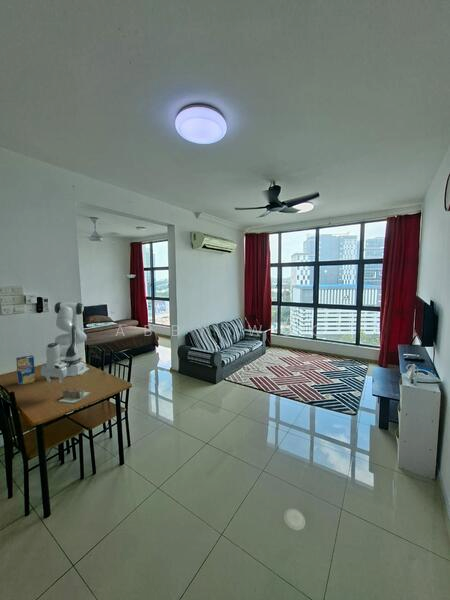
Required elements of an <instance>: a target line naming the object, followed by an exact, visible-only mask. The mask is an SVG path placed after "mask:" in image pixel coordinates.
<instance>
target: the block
mask: <svg viewBox="0 0 450 600" xmlns="http://www.w3.org/2000/svg"><path fill="white" fill-rule="evenodd" d="M84 392H85V389H84V388H83V389H82V388H73V387H66V388H65V389H63V390H62V398H64V397H68V398H77V399H80V398H82V397H83V396H84Z"/></svg>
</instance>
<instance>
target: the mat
mask: <svg viewBox="0 0 450 600" xmlns="http://www.w3.org/2000/svg"><path fill="white" fill-rule="evenodd" d="M91 394H92V393H91V392H87V391H84V396H83V397H82V398H80V399H77V398H68V397H62V398H61V399H59V400H58V401H57V402H59V403H68V404H77V403H79V402H80V401H81V400H83V399H85V398H86V397H87V396H89V395H91Z"/></svg>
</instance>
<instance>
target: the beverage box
mask: <svg viewBox="0 0 450 600" xmlns="http://www.w3.org/2000/svg"><path fill="white" fill-rule="evenodd" d="M16 373H17V374H16V375H17V376H16V377H17V384H18V386H21V385H24V384H29V383H35V382H36V380H35V379H36V375H35V373H36V372H35V356H34V355H33V354H31V355H26V356H24V355H23V356H19V357H16Z"/></svg>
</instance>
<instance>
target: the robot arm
mask: <svg viewBox="0 0 450 600" xmlns="http://www.w3.org/2000/svg"><path fill="white" fill-rule="evenodd" d="M84 310H85V308H84V304H82V302H71V301H67V302H66V301H64V302H61V301H60V302H59V301H58V302H57V303H55V305H54V313H56V314H57V316H56V321H55V324H56V325H55V326H56V327H57V328H58V329H59V330H61V331H64V332H67V333H62V334H59V335H57V336H56V337H55V339H54V342H52V343H48V344H47V345H46V350H45V357H46V361H45V362H46V363H43V364H42V365H41V370H40V375H41V376H42V377H45V378H46V382H47V383H49V382H51V381H52V379H51V378H58V380H57V383H62V380H63V379H64V378H66V377H75V376H81V375H83V374H85V373H86V372H87V371H89V370H90V368H89V367H87V365H86V363H84V362H83V361H82V360H83V357H80V355H79V354H80V352H79V349H78V346H77V345H79V344H83V343H85V342H86V341H87V338H88V335H87V334H86V333H85V332H83V330H81V328H80V324H79V323H80V321H79V319H80V317H79V315H82V314H83V313H84ZM61 358H64V361H61ZM85 371H86V372H85Z"/></svg>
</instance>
